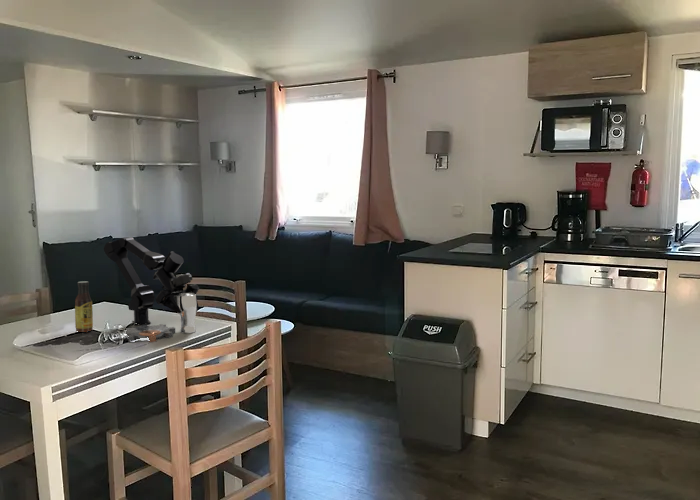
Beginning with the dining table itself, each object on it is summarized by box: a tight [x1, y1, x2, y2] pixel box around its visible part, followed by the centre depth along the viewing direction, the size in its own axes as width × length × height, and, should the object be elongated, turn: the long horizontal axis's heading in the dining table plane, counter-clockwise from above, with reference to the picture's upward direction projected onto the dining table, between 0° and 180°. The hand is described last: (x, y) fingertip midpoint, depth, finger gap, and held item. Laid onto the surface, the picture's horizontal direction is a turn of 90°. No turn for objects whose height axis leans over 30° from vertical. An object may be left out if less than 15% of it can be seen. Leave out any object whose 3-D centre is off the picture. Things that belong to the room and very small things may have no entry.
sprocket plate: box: [125, 324, 176, 343], centre depth 220 cm, size 20×20×2 cm
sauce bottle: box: [74, 280, 94, 333], centre depth 224 cm, size 6×6×20 cm
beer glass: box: [177, 293, 197, 334], centre depth 225 cm, size 7×7×15 cm
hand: (189, 310), depth 225 cm, fingers open, 9 cm apart
